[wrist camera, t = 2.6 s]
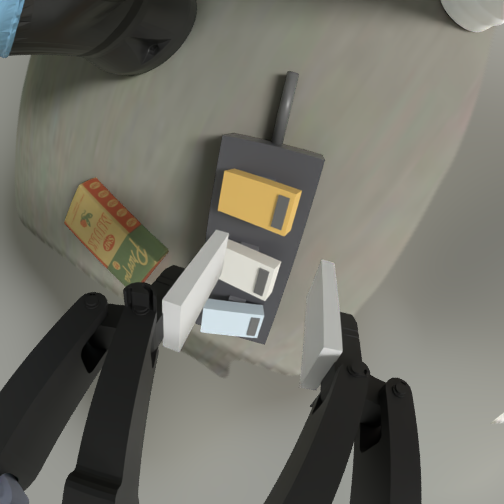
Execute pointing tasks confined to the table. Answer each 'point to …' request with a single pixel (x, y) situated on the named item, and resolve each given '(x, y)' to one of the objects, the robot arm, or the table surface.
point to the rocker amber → (259, 201)
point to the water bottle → (475, 13)
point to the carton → (113, 233)
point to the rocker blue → (232, 318)
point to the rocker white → (249, 270)
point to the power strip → (257, 238)
